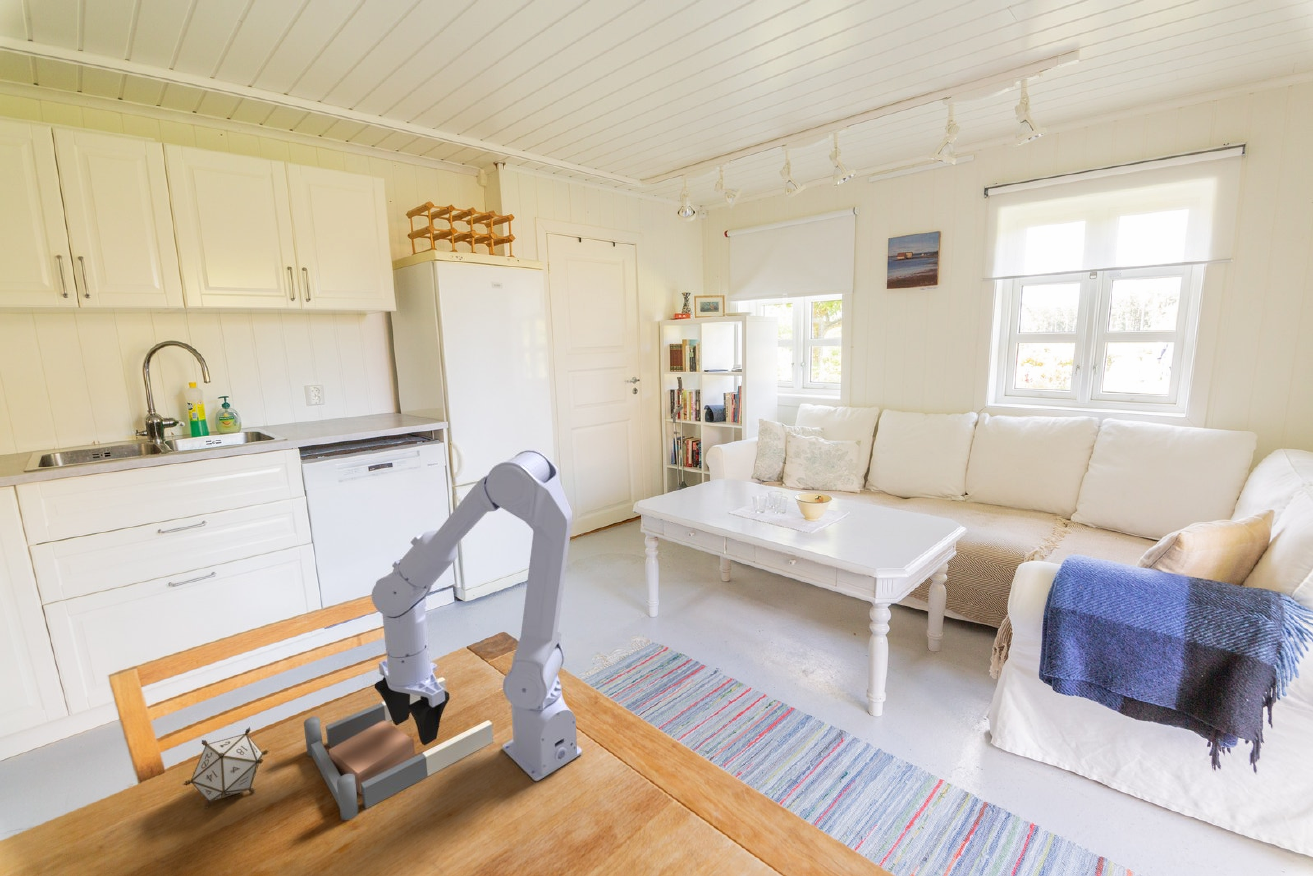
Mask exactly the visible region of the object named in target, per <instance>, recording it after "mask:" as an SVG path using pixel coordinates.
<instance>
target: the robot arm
mask: <svg viewBox="0 0 1313 876" xmlns="http://www.w3.org/2000/svg"><path fill="white" fill-rule="evenodd" d="M500 508H501V509H503V510H504V511H507V512H508V513H509V514H511V515H513V516H515V517H517V518H518V519H520V520H522V521H524V523H526V524H527V525H528V527H529V528H531V530H532V531H533V532H532V542H531V550H530V559H529V565H528V576H527V583H526V591H525V599H524V607H523V608H524V609H523V613H522V614H523V615H522V625H521V631H520V632H521V633H520V638H519V640H518V643H517V646H516V649H515V652H514V654H513V657H512V662H511V663H512V664H511V668H510V669H509V671H508V672H507V674H505V676H504V678H503V681H502V690H503V695H504V697H505V698H506V700H507V701H508V702H509V703H510V704H511V705H510V707H511V721H512V722H511V723H512V738H513V739H511V740H509V741H507V742H505V743H504V744H502V750H503V751H504V752H505V754H507V755H508V756H509V757H510V758H511V760H513V761H514V762H515V763H517V764H516V765H518V766H519V767H520V768H521V769H522V770H523V771H524V772H525V773H526V774H528V775H529V776H530V778H532V780H534V781H536V782H537V781H540V780H541V779H543V778H545V777H546V776H548V775H549V774H551V773H553V772H555V771H556V770H559V768H561V767H563V766H564V765H566V764H568V763H570V762H571V761H573V760H574V759H575V758H577V757H579V756H581V755H582V754H583V749H582V748H581V747H580V746H578V741H577V739H578V738H577V719H576V716H575V714H574V712H573V711H572V710H571V709H570V708H569V707H568V705H567V704H566V702H565V699H564V697H563V691H562V684H561V682H560V678H559V671H560V670H561V669H562V667H563V665H564V662H565V652H564V648H563V646H562V640H561V639H562V632H561V630H559V623H560V615H561V609H562V601H563V600H562V599H563V595H564V594H563V593H564V588H565V587H564V586H565V579H566V572H567V564H568V563H567V562H568V557H569V549H570V540H571V535H572V534H571V533H572V525H573V517H574V516H573V511H572V508H571V507H570V504H569V501H568V499H567V496H566V493H565V491H564V488H563V486H562V483H561V480H560V470H559V468H558V467H557V466H556V465H555V464H554V462H552V461H551V460H550V459H549V458H548V457H547V456H546V455H545V454H543V452H541V451H539V450H534V449H526V450H523V451H520V452H519V453H518V454H516V455H515V456H514V457H511V458H510V459H508V460H506V461H503V462H499V463H498V464H496V465H494V466H493V467H492V468H491V469H490V471H489V472H488V474H486V475H485V476H483V477H482V478H480V480H479V481H477V482H476V483H475V484H474V486H472V488H471V489H470V490H469V491H468V493H467V494H466V495H465V496H464V498H462V500H461V502H460V503H459V504H458V505H457V506H456V507H455V509H454V510H453V512H452V513H451V514H450V515H449V517H448V518H447V519H446V520H445V521H444V522H443V524H442V525H441V527H440V528H439V529H438V530H428V531H425V532H424V533H423V534H422V533H419V534H417V535H416V536H414V538H413V539H411V541H410V544H411V545H412V547H411V548H410V549H409V550H408V551H407V553H406V554H405V555H404V556H403V557H402V558H398V559H396V560H395V561H394V563H392V565H391V566H392V568H393V569H392V572H390V573H389V574H388V575H386V576H383V577H380V578H379V579H378V580H376V582H375V584H374V586H373V588H372V590H371V600H372V604H373V607H374V608H375V609H376V610H377V611H378V612H379V613H380V614H382V625H383V632H384V633H383V634H384V645H385V653H386V654H385V655H386V659H383V660H382V661H380V662H378V671H379V675H381V676H383V677H382V679H381V680H378V681H377V682H376V683H374V688H375V690H376V691H377V692H378V694H379V695H380V696H381V698H382V699H383V702H384V701H385V703H386V705H387V708H388V710H389V713H390V716H391V718H392V720H391V722H393V724H394V726H398V725H400V724H402V723H404V722H405V721H408V720H409V718H410V714H411V716H412V718H413V720H414V722H415V724H416V729H417V732H418V737H419V740H420V743H421V745H423V746H427V745H428V744H430V743H432V742H434V741H435V740H437V737H438V733H439V727H440V723H441V718H442V715H443V713H444V711H445V708H446V706H447V704H448V702H449V700H450V697H451V696H450V693H449V692H448V691H447V690H446V691H447V692H446V691H445V690H444V688H442V687H441V686H440V685H439V683H438V681H437V679H438V678H437V677H436V675H435V673H434V672H435V671H437V670H438V665H437V663H435V662H433V661H430V660H431V659H430V650H429V638H428V637H429V635H428V626H427V625H428V624H427V613H426V606H427V604H426V599H427V596H428V595H429V593H430V592H431V590H432V586H433V585H434V584H435V582H437V581H438V579H439V578H440V577H441V576H443V574H444V573H445V572H446V571H447V569H448V568H449V567H450V566H451V565H452V564H453V563H454V562H455V561H456V559H457V558H458V555H459V553H458V544H459V543H460V542H461V540H462V539H463V538H465V536H466V535H467V534H468V533H469V532H470V531H471V530H472V529H473V528H474V527H475V526H476V525H477V524H478V523H479V521H481V519H482V518H483V517H484V516H485V515H486V514H487V513H488V512H495V511H498V510H499V509H500ZM410 694H413V695H418V696H420V700H418V701H416V702H414V703H412V704H410Z"/></svg>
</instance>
